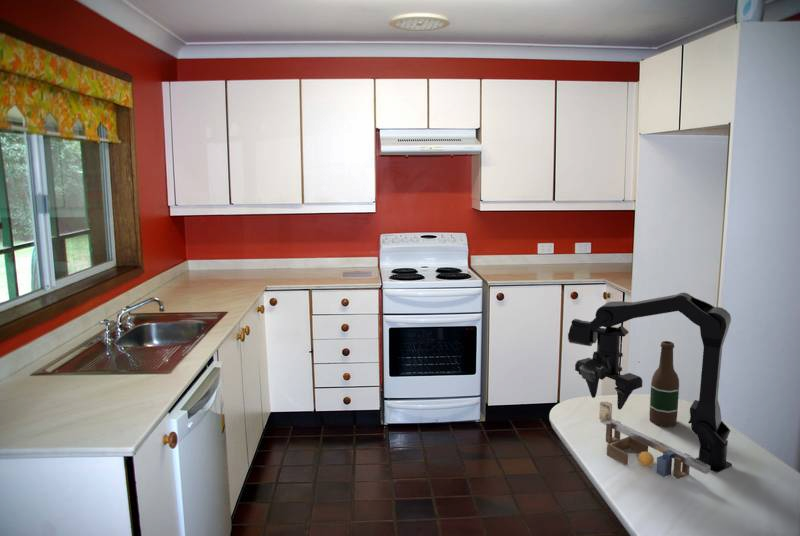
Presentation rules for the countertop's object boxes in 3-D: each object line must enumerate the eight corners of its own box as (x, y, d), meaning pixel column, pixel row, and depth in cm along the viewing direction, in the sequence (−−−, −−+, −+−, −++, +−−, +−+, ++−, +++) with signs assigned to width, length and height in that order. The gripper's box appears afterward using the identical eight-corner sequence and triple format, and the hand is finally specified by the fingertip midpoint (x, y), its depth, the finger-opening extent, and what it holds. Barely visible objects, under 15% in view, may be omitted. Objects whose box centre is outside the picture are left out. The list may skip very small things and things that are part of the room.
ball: (644, 460, 150) (645, 447, 150) (656, 466, 147) (657, 453, 147) (634, 464, 149) (635, 451, 148) (646, 470, 146) (647, 457, 145)
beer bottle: (672, 415, 175) (676, 338, 170) (681, 427, 167) (687, 346, 163) (645, 415, 176) (648, 338, 171) (653, 427, 168) (657, 346, 163)
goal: (628, 446, 157) (629, 436, 157) (647, 456, 152) (648, 445, 152) (606, 455, 154) (607, 444, 153) (625, 465, 148) (626, 454, 148)
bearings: (616, 437, 163) (616, 420, 162) (689, 474, 144) (690, 455, 143) (605, 441, 161) (606, 424, 160) (678, 479, 142) (679, 459, 141)
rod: (604, 431, 166) (605, 400, 164) (711, 484, 138) (713, 449, 136) (588, 436, 163) (589, 405, 161) (694, 492, 135) (696, 456, 133)
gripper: (561, 345, 163) (560, 398, 166) (614, 365, 147) (612, 423, 150) (590, 338, 168) (588, 389, 171) (645, 356, 152) (642, 412, 155)
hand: (606, 403), depth 162 cm, fingers open, 9 cm apart
